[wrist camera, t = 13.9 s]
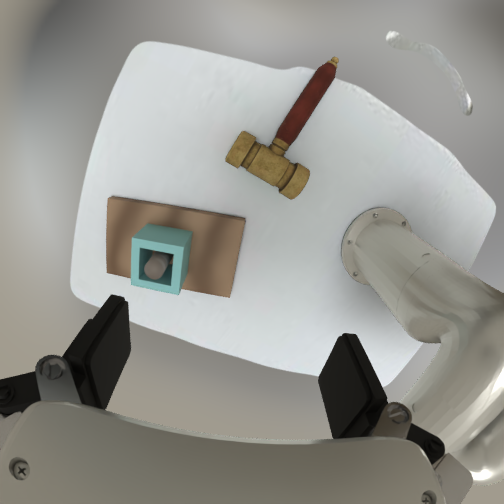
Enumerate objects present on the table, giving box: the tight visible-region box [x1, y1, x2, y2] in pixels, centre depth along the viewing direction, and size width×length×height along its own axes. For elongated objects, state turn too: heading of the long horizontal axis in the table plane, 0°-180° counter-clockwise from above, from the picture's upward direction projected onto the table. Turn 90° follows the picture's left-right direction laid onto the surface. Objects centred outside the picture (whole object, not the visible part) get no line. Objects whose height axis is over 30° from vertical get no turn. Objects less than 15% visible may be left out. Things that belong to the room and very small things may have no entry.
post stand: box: [106, 196, 245, 298], centre depth 36 cm, size 20×12×8 cm, turn 78°
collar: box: [131, 224, 193, 295], centre depth 35 cm, size 7×7×6 cm
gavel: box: [225, 57, 338, 199], centre depth 32 cm, size 21×5×10 cm
